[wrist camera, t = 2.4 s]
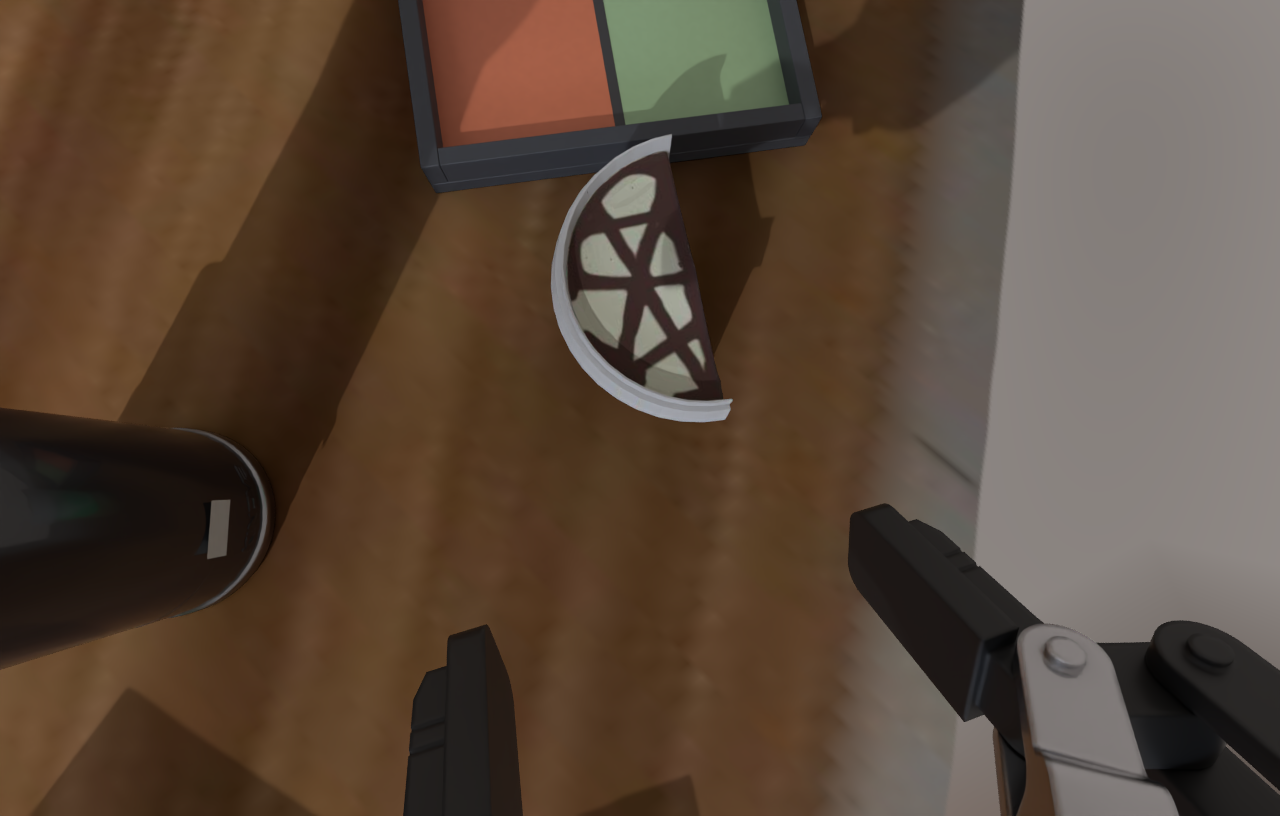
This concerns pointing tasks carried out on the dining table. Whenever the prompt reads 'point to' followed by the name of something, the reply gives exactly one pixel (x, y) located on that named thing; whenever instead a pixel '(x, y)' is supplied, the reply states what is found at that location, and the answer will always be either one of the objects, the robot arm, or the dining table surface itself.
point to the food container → (636, 291)
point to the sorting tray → (600, 83)
